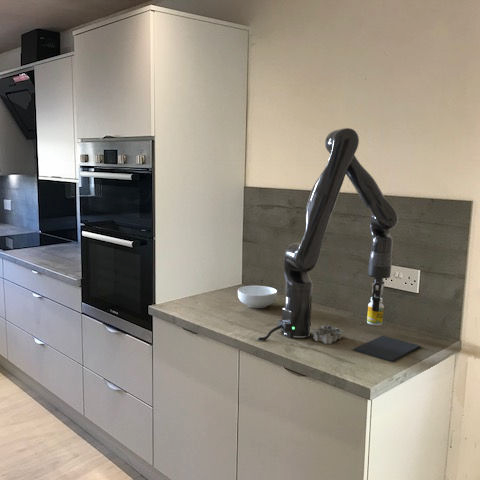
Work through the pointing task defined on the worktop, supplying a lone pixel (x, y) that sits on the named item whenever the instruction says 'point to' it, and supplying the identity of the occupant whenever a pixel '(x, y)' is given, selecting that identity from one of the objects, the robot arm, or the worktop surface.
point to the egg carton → (327, 334)
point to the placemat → (387, 348)
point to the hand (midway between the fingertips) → (375, 308)
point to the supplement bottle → (375, 313)
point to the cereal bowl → (257, 296)
